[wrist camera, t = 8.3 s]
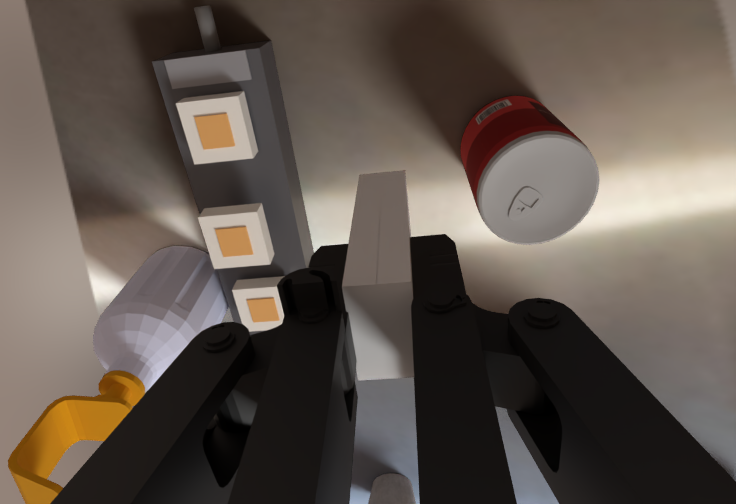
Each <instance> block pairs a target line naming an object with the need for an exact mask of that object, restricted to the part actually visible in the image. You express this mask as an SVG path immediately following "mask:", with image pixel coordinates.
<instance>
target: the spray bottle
mask: <svg viewBox="0 0 736 504" xmlns="http://www.w3.org/2000/svg"><path fill="white" fill-rule="evenodd" d="M228 307H229V305H228V302H227V299H226V295H225V292H224V289H223V286H222V283H221V280H220V276H219V273H218V270H217V269H214V267H213V264H212V261H211V258H210V255H209V254H208V253H206V252H204V251H201V250H198V249H196V248H193V247H189V246H171V247H167V248H164V249H160V250H158V251H156V252H155V253H154V254H153V255H151V256H150V257H149V258H148V259H147V260H146V261H145V262H144V263H143V265H142V266H141V267H140V268H139V269H138V271H137V272H136V273H135V274H134V276H133V277H132V278H131V279H130V280H129V282H128V283H127V284H126V285H125V286H124V288H123V289H122V290H121V291H120V293H119V294H118V295H117V296H116V297H115V299H114V300H113V301H112V302H111V303H110V305H109V306H108V307H107V308H106V310H105V311H104V312H103V313H102V314H101V316H100V318H99V320H98V322H97V324H96V326H95V329H94V335H93V344H94V352H95V354H96V355H97V357H98V359H99V361H100V363H101V365H102V366H103V367H104V368H105V369H106V370H107V371H106V373H105V374H104V376H103V378H102V380H101V381H100V383H99V391H100V393H101V395H98V396H96V397H87V396H86V397H85V396H65V397H62V398H59V399H57V400H55V401H54V402H53V403H51V404H50V405H49V406H48V407H47V408H46V410H45V411H44V412H43V414H42V415H41V416H40V417H39V419H38V420H37V421H36V422H35V424H34V425H33V426H32V428H31V429H30V430H29V431H28V433H27V434H26V435H25V437H24V438H23V439H22V440H21V442H20V443H19V444H18V446H17V447H16V449H15V450H14V451H13V452H12V454H11V456H10V458H9V460H8V467H9V469H10V471H11V474H12V476H13V478H14V480H15V482H16V484H17V486H18V488H19V491H20V493H21V495H22V497H23V499H24V501H25V503H26V504H50V503H51V502H52V501H53V500H54V499H55V497H56V496H57V495H58V494H59V493H60V492H61V490H62V489H63V488H62V487H61V486H60V485H58V484H56V483H54V482H51V481H49V480H47V478H48V477H49V475H50V474H51V472H52V470H53V469H54V467H55V466H56V465H57V463H58V461H59V460H60V458H61V457H62V456H63V454H64V453H65V451H66V450H67V449H68V448H69V447H70V446H71V445H72V444H74V443H76V442H77V441H79V440H95V441H105V440H106V439H107V437H108V436H109V435H110V434H111V433H112V432H113V430H114V429H115V428H116V427H117V426H118V425H119V423H120V422H121V421H122V420H123V419H124V418H125V417H126V415H127V414H128V413H129V412H130V411H131V410H132V406H134V405H136V404H137V403H138V402H139V400H140V399H141V398H142V397H143V396H144V394H145V393H146V391H147V390H149V389H150V388H151V387H152V385H153V384H154V383H155V382H156V381H157V380H158V378H159V377H160V376H161V375H162V374H163V373H164V372H165V370H166V369H167V368H168V367H169V366H170V365H171V363H172V362H173V361H174V360H175V359H176V358H177V356H178V355H179V354H180V353H181V352H182V351H183V350H184V348H185V347H186V346H187V345H188V344H189V343H190V341H191V340H192V339H193V338H194V337H195V336H196V335H198V334H199V333H200V332H201V331H203V330H205V329H207V328H209V327H211V326H213V325H216V324H220V323H221V322H222V320H223V317H224V315H225V313H226V311H227V309H228Z"/></svg>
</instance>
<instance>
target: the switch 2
mask: <svg viewBox="0 0 736 504" xmlns="http://www.w3.org/2000/svg"><path fill="white" fill-rule="evenodd" d="M198 220H199V223H200V226H201V229H202V233H203V236H204V239H205V242H206V245H207V248H208V251H209V254H210V258H211V261H212V264H213V267H214V269H222V268H234V267H246V266H258V265H270V264H271V262H272V259H273V257H274V250H273V246H272V242H271V238H270V234H269V230H268V226H267V222H266V218H265V214H264V210H263V206H262V203H255V204H245V205H235V206H224V207H214V208H204V210H203V211H202V212H201V214H200V215H199V216H198Z"/></svg>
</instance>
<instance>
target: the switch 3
mask: <svg viewBox="0 0 736 504" xmlns="http://www.w3.org/2000/svg"><path fill="white" fill-rule="evenodd" d="M283 277H285V276H281V277H268V278H256V279H244V280H237V281H236V283H235V285H234V287H233V289H232V292H233V295H234V299H235V302H236V305H237V308H238V312H239V315H240V318H241V321H242V324H243V325H244V326H246V327H247V328H248V329H249V332H251V331H265V330H270V329H272V328H275V327H277V326H279V325H281V324H282V322H283V319H284V312H283V308H282V305H281V301H280V297H279V293H278V289H277V284H278V283H279V281H280V280H281V279H282V278H283Z"/></svg>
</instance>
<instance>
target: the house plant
mask: <svg viewBox="0 0 736 504" xmlns="http://www.w3.org/2000/svg"><path fill="white" fill-rule="evenodd" d="M368 504H416V502H415V497H414V493H413V488H412V484H411V482H410V480H409V479H408V478H406V477H405V476H403V475H400V474H395V473H388V474H383V475H380V476H378V477H377V478H376V479H375V480H374V481H373V485H372V490H371V494H370V498H369V503H368Z"/></svg>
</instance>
